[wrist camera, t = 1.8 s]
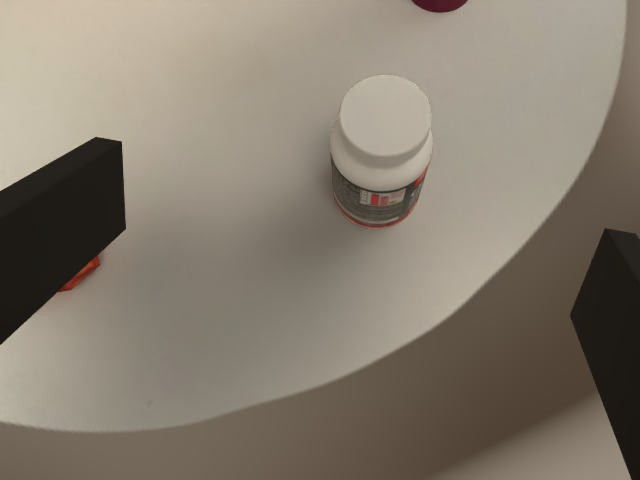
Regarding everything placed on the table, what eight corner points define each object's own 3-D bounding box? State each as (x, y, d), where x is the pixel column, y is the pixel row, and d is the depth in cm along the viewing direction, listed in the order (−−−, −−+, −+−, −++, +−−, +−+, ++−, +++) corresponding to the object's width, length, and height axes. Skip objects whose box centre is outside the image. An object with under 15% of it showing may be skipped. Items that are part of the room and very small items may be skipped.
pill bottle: (424, 226, 37) (451, 160, 28) (337, 236, 37) (334, 173, 28) (411, 147, 39) (432, 59, 29) (328, 156, 39) (322, 72, 29)
